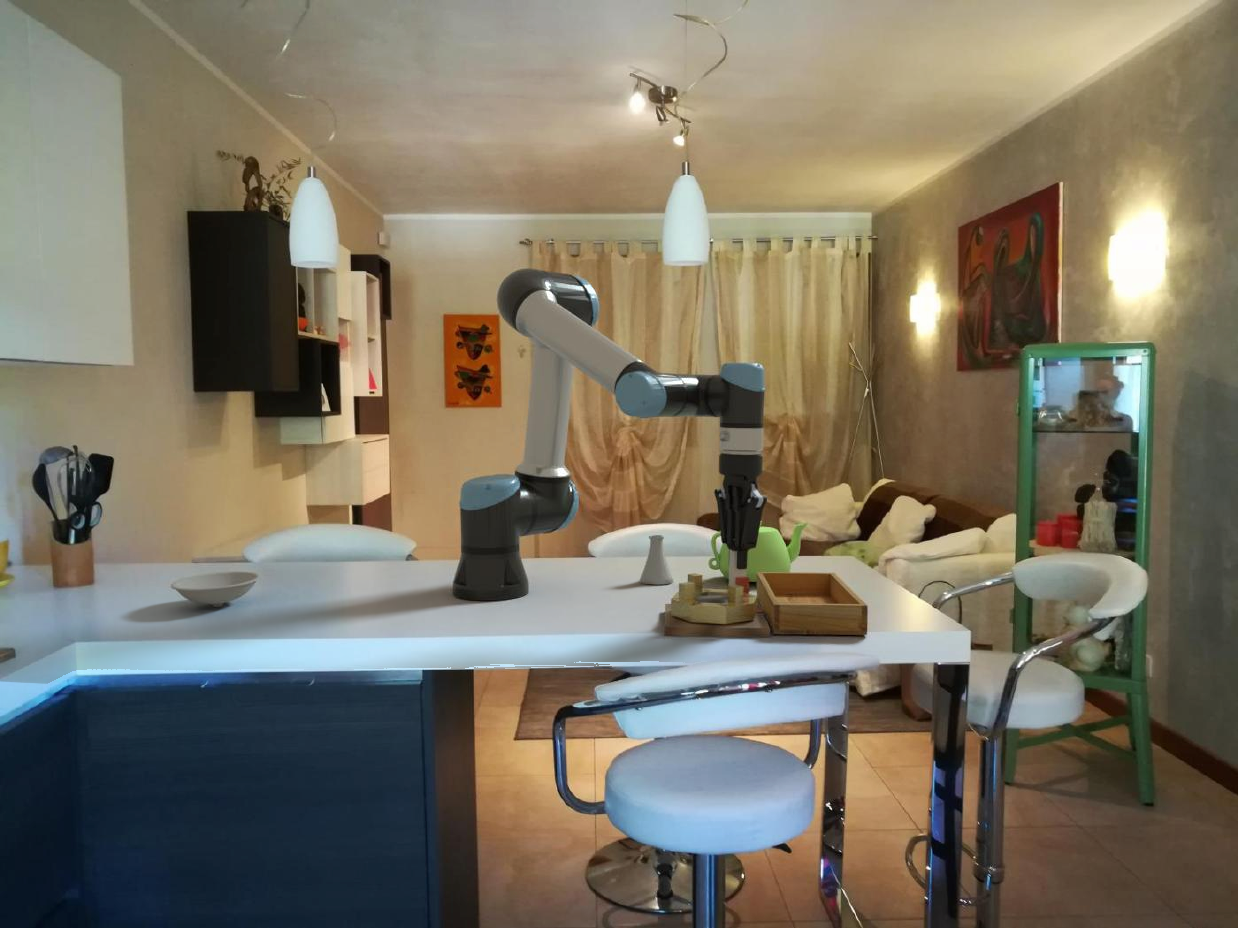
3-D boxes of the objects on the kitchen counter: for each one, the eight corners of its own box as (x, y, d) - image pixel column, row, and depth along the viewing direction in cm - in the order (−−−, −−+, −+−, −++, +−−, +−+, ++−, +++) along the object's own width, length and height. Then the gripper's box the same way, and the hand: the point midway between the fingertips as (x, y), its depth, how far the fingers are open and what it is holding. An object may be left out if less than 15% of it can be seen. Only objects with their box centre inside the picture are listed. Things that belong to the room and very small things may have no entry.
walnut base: (664, 635, 145) (664, 609, 144) (665, 611, 162) (665, 588, 161) (771, 637, 144) (772, 610, 143) (761, 612, 161) (761, 589, 160)
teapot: (799, 573, 199) (800, 515, 198) (819, 586, 184) (820, 524, 183) (702, 574, 198) (702, 516, 197) (714, 588, 183) (715, 525, 182)
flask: (673, 579, 192) (673, 533, 192) (673, 585, 185) (673, 538, 185) (640, 578, 193) (640, 533, 192) (638, 585, 186) (638, 538, 185)
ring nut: (658, 610, 155) (658, 577, 155) (722, 601, 162) (722, 569, 162) (705, 627, 143) (705, 591, 143) (772, 616, 150) (773, 582, 150)
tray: (756, 598, 175) (756, 569, 175) (834, 599, 174) (834, 570, 174) (773, 638, 145) (773, 604, 144) (867, 640, 144) (868, 605, 143)
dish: (225, 618, 157) (224, 590, 157) (151, 615, 159) (150, 588, 159) (278, 597, 175) (277, 572, 174) (211, 595, 177) (210, 570, 176)
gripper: (702, 450, 158) (699, 581, 160) (743, 455, 146) (740, 596, 148) (738, 449, 161) (734, 577, 163) (781, 454, 150) (776, 592, 152)
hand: (737, 586), depth 156 cm, fingers closed
